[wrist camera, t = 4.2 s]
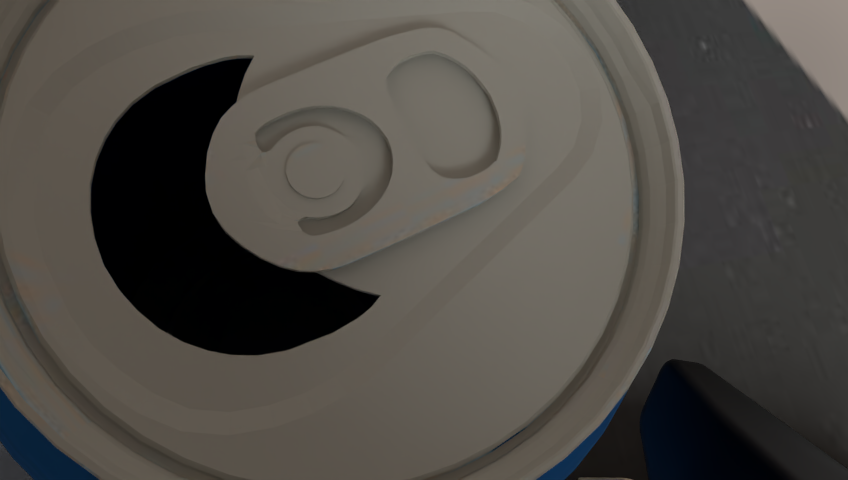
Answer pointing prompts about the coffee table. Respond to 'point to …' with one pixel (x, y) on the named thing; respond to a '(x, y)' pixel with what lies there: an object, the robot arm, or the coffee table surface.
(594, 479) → the kitchen scale
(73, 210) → the beverage can
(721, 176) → the coffee table surface
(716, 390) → the robot arm
